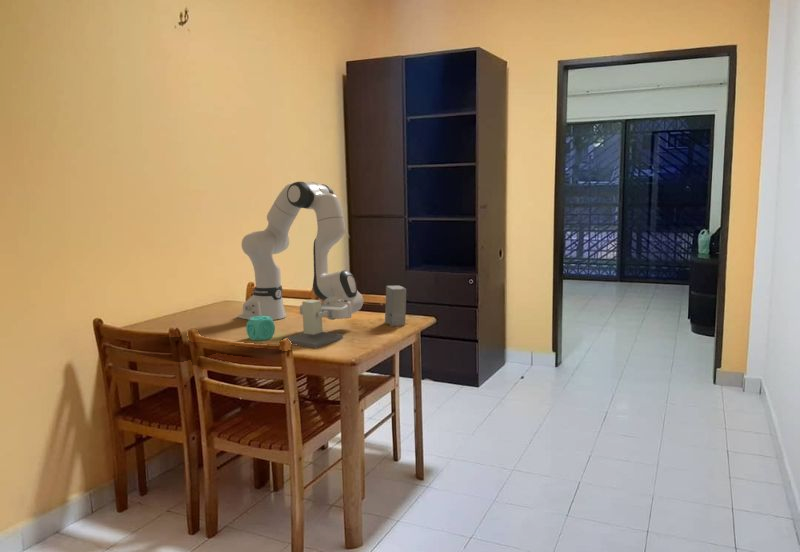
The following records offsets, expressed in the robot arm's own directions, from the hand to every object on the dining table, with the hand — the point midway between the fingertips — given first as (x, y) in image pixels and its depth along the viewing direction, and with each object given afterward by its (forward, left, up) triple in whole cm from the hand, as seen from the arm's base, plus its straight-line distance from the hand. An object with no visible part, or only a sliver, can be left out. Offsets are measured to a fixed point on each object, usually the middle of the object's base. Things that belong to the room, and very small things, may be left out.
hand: (310, 314), depth 228 cm
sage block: (0, +1, -7) cm, 7 cm away
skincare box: (+13, +39, -10) cm, 42 cm away
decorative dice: (-21, -5, -10) cm, 24 cm away
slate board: (0, +1, -10) cm, 10 cm away
